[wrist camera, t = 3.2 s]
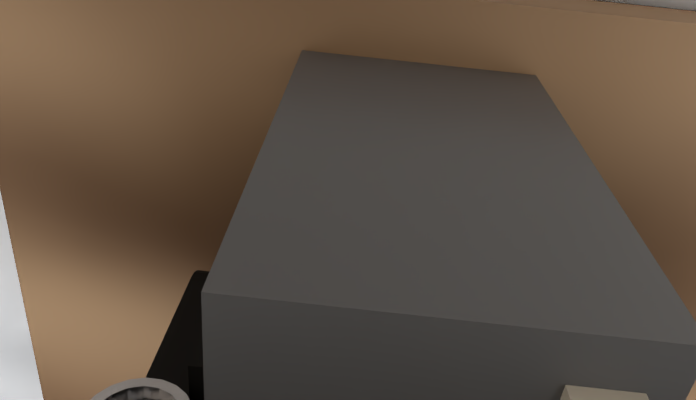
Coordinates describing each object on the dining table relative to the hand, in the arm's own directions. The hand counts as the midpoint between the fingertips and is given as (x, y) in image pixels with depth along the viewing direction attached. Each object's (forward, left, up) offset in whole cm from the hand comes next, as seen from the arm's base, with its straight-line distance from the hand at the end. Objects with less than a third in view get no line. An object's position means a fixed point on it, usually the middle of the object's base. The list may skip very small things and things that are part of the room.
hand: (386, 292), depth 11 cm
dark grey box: (0, 0, -1) cm, 1 cm away
